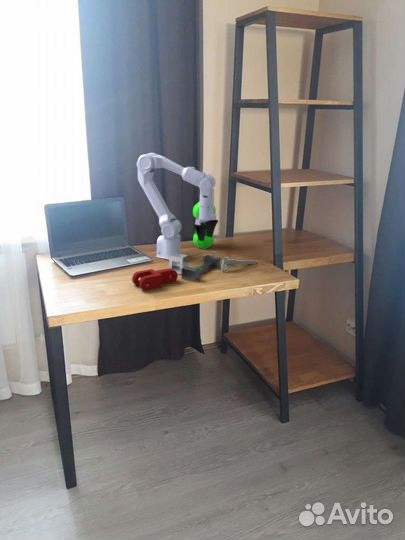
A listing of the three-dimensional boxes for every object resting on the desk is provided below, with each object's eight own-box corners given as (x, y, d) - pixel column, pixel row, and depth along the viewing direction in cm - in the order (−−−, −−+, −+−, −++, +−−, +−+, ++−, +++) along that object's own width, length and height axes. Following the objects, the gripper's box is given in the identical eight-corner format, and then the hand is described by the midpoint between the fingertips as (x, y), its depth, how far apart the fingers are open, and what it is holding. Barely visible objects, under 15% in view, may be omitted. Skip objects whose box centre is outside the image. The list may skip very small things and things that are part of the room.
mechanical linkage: (141, 292, 155) (141, 278, 153) (132, 285, 160) (131, 272, 158) (181, 283, 163) (181, 270, 162) (170, 278, 169) (170, 265, 167)
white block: (169, 268, 177) (169, 255, 175) (174, 265, 180) (174, 252, 178) (182, 271, 174) (182, 257, 172) (187, 268, 177) (187, 255, 175)
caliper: (222, 273, 175) (223, 258, 173) (220, 272, 176) (221, 257, 174) (257, 263, 188) (259, 249, 186) (255, 262, 189) (257, 248, 187)
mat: (162, 271, 175) (162, 270, 175) (175, 264, 183) (175, 263, 183) (179, 275, 171) (179, 274, 171) (192, 267, 180) (192, 266, 179)
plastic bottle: (196, 243, 214) (197, 190, 205) (217, 245, 210) (219, 192, 202) (188, 248, 205) (189, 193, 196) (210, 251, 201) (212, 195, 193)
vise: (181, 278, 168) (181, 268, 166) (206, 264, 184) (207, 254, 183) (195, 281, 165) (195, 271, 164) (219, 266, 182) (220, 257, 180)
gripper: (206, 210, 174) (205, 244, 178) (223, 204, 186) (222, 236, 190) (190, 208, 177) (190, 241, 181) (208, 202, 189) (207, 233, 193)
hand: (205, 238), depth 186 cm, fingers open, 7 cm apart
